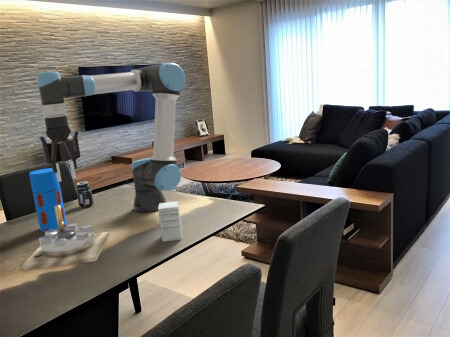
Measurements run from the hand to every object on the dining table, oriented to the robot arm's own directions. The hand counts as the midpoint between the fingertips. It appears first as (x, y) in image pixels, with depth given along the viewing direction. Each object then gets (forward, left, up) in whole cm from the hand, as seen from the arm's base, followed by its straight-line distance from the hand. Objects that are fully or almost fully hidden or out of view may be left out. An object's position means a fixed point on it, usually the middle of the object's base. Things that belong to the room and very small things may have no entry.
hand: (66, 179), depth 155 cm
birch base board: (+1, +9, -25) cm, 26 cm away
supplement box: (-36, +7, -25) cm, 44 cm away
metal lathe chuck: (+1, +9, -23) cm, 24 cm away
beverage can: (+9, -50, -25) cm, 57 cm away
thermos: (+16, -21, -25) cm, 36 cm away
